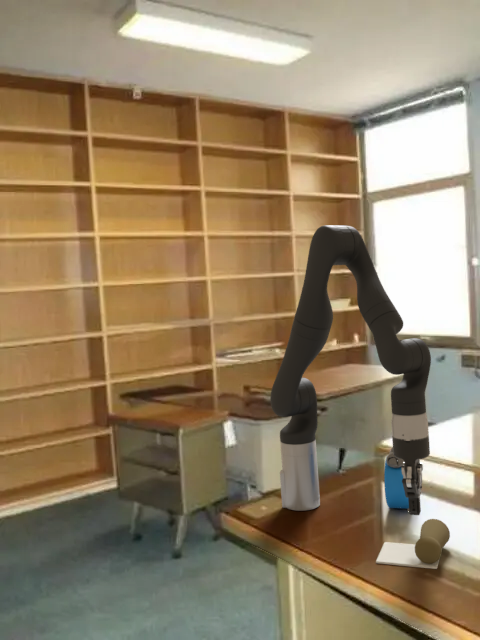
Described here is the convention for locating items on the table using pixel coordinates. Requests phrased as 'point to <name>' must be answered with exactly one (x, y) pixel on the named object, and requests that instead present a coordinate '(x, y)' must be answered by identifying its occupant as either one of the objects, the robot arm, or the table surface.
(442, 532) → the cork
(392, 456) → the alarm clock
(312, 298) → the robot arm
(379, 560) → the mat
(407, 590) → the table surface
